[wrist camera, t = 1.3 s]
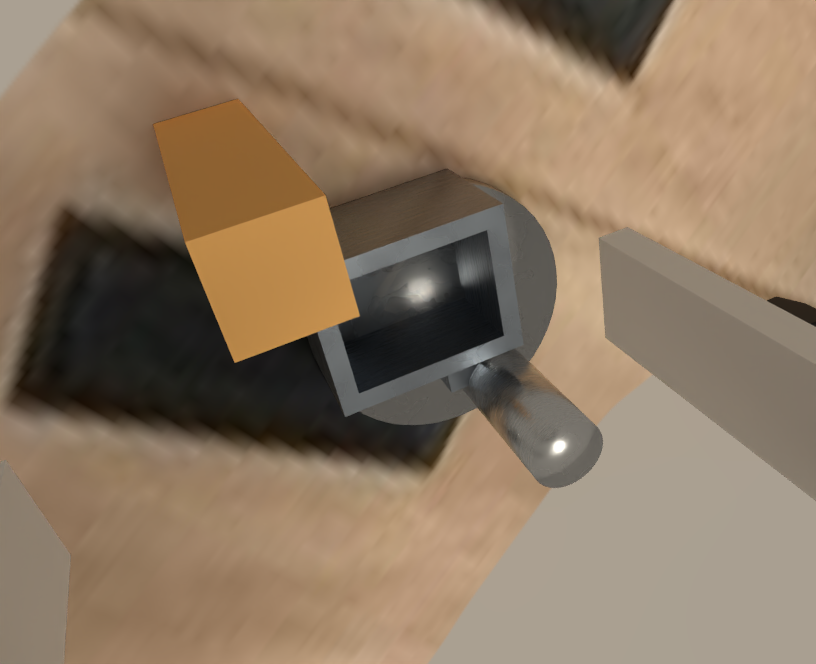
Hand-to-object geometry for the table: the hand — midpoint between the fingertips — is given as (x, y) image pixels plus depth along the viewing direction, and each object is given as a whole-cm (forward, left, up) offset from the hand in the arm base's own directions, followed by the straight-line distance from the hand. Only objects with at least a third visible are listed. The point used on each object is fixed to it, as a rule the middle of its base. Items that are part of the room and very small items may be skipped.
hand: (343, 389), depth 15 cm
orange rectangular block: (0, 0, -22) cm, 22 cm away
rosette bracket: (+9, -12, -22) cm, 27 cm away
